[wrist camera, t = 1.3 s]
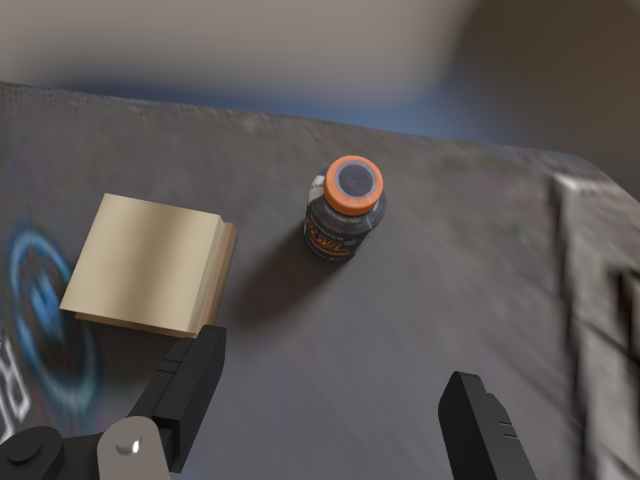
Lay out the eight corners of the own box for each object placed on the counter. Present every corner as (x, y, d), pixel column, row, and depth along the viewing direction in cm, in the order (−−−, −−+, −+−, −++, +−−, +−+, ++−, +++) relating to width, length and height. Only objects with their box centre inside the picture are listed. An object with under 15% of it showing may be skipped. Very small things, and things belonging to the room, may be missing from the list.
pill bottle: (292, 242, 34) (293, 192, 23) (323, 194, 36) (337, 126, 25) (346, 274, 33) (373, 237, 23) (374, 223, 35) (412, 167, 24)
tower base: (94, 321, 30) (49, 314, 25) (133, 214, 33) (101, 186, 28) (209, 342, 31) (191, 340, 25) (238, 234, 34) (227, 210, 28)
